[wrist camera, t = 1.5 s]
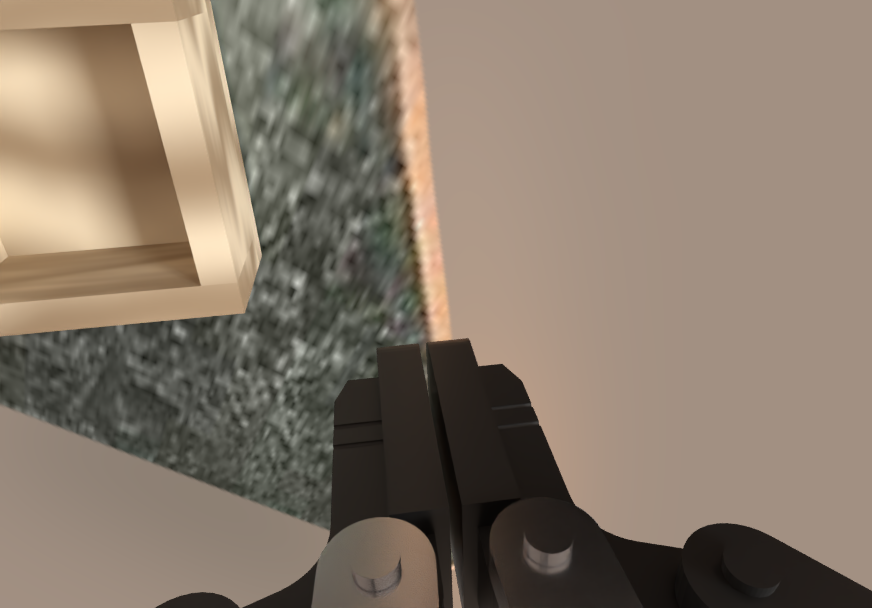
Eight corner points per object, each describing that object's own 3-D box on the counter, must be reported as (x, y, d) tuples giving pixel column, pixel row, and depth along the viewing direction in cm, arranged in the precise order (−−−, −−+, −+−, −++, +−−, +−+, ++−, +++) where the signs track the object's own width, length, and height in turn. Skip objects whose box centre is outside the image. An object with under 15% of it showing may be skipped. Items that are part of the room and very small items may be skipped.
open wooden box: (-137, -17, 23) (-276, -12, 18) (203, -31, 24) (165, -30, 19) (-2, 277, 30) (-76, 343, 25) (261, 255, 31) (244, 312, 26)
